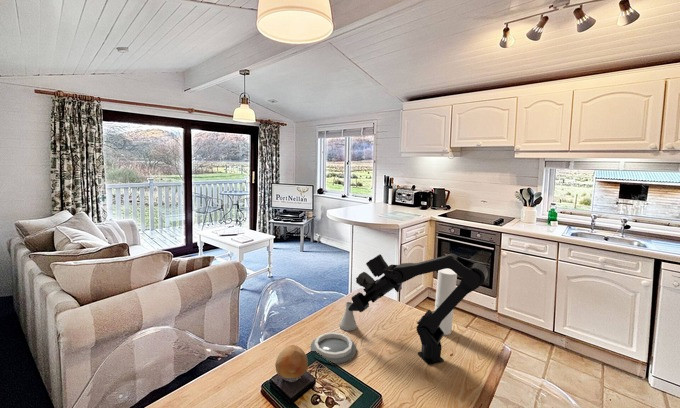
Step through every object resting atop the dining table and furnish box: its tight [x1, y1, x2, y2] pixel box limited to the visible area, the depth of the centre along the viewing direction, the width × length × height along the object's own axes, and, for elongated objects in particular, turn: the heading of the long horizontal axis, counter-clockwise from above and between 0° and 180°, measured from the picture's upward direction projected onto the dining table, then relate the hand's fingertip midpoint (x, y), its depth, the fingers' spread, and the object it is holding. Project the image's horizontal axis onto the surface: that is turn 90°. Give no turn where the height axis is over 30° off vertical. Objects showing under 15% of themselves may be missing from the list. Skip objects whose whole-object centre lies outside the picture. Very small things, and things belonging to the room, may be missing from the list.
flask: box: [339, 301, 358, 332], centre depth 125 cm, size 7×7×10 cm
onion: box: [274, 344, 309, 378], centre depth 94 cm, size 10×10×10 cm
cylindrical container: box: [434, 268, 458, 336], centre depth 124 cm, size 7×7×25 cm
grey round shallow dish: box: [310, 331, 357, 365], centre depth 109 cm, size 16×16×3 cm
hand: (355, 305), depth 123 cm, fingers open, 9 cm apart
